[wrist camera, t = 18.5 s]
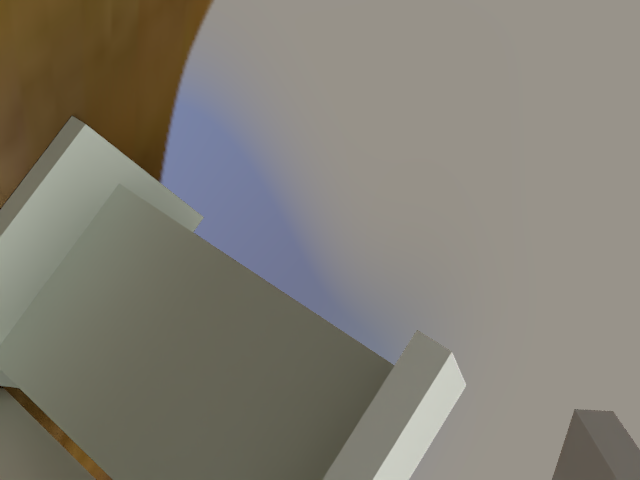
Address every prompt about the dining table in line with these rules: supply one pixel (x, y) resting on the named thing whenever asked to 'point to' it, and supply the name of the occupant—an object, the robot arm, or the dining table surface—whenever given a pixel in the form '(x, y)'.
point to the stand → (190, 341)
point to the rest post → (32, 448)
